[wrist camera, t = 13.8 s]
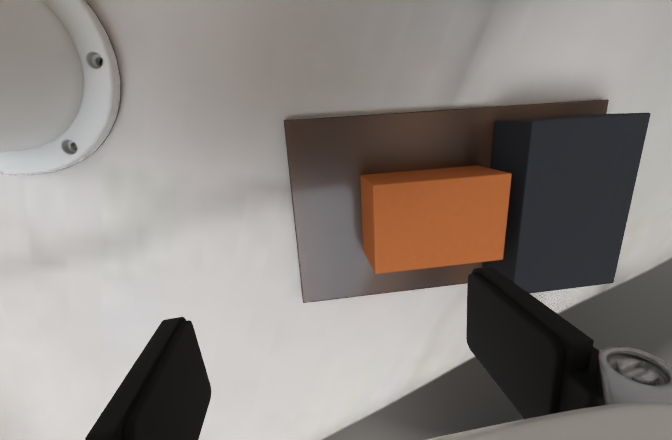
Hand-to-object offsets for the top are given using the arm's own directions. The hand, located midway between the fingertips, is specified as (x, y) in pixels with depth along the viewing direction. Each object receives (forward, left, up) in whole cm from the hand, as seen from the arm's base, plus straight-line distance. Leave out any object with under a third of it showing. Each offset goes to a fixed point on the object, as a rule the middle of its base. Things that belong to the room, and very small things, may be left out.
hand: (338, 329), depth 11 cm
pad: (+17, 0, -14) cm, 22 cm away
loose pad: (+8, 0, -14) cm, 16 cm away
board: (+10, 0, -14) cm, 18 cm away
